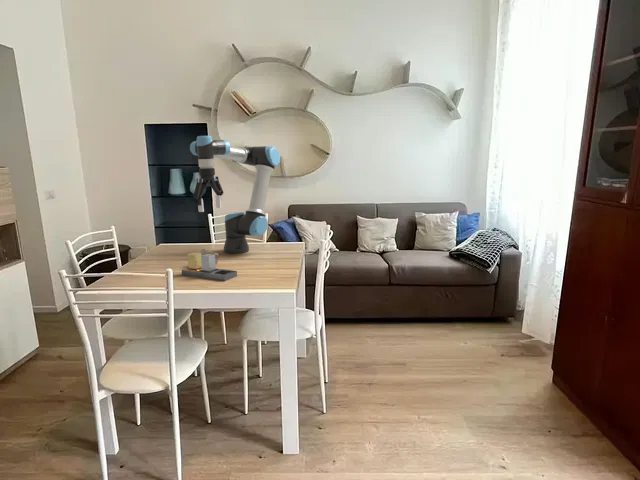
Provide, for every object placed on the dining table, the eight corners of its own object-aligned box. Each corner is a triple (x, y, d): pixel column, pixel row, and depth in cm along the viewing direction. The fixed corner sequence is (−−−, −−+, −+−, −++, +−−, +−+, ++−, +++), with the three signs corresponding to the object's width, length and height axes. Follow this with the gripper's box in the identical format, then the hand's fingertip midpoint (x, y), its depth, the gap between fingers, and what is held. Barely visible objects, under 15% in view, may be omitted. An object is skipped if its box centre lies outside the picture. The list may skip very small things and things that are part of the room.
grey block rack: (195, 270, 210) (194, 265, 210) (237, 276, 199) (236, 270, 199) (181, 274, 202) (181, 269, 202) (225, 281, 191) (224, 275, 191)
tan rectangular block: (195, 272, 207) (194, 252, 206) (202, 273, 205) (201, 253, 204) (188, 274, 203) (187, 254, 202) (196, 275, 202) (194, 254, 200)
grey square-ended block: (208, 273, 204) (207, 253, 202) (216, 274, 202) (214, 254, 200) (202, 276, 200) (201, 255, 198) (209, 277, 198) (208, 256, 196)
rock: (190, 265, 215) (195, 247, 215) (192, 264, 221) (198, 246, 221) (213, 272, 216) (219, 253, 216) (215, 270, 223) (220, 252, 223)
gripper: (216, 166, 222) (220, 206, 227) (183, 169, 201) (187, 213, 205) (228, 166, 219) (231, 206, 224) (195, 169, 197) (199, 213, 202)
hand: (210, 209), depth 215 cm, fingers open, 13 cm apart
